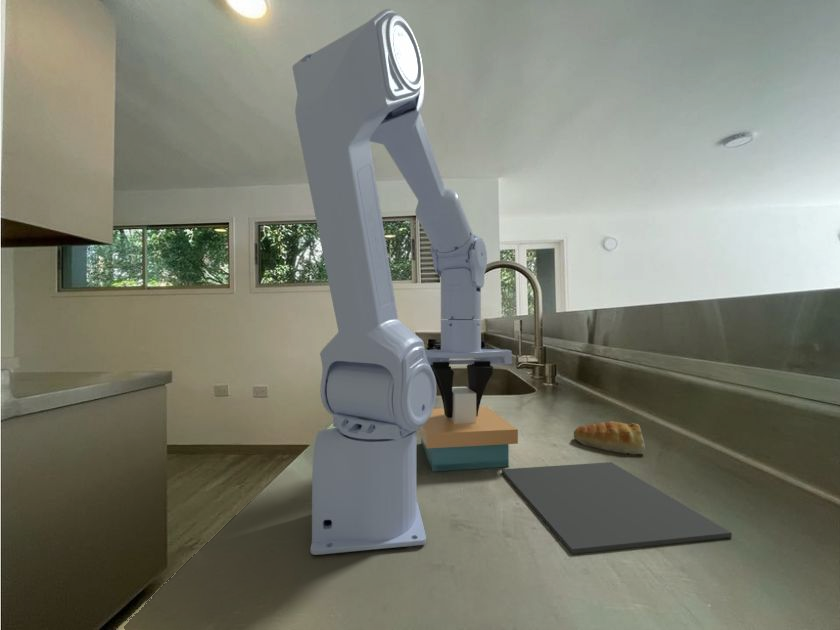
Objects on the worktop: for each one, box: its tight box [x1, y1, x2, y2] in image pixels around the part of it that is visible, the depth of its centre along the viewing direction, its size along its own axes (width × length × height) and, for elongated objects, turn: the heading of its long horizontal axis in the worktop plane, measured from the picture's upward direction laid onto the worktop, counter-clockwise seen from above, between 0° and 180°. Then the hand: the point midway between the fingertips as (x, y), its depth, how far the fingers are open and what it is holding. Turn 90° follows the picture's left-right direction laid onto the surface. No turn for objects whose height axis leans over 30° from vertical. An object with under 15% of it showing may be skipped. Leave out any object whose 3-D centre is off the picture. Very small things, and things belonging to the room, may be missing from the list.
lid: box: [417, 386, 519, 448], centre depth 48 cm, size 12×12×6 cm
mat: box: [501, 461, 733, 555], centre depth 36 cm, size 15×15×1 cm
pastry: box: [573, 420, 646, 455], centre depth 52 cm, size 9×7×4 cm
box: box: [420, 437, 510, 473], centre depth 48 cm, size 10×10×4 cm
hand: (460, 415), depth 48 cm, fingers closed on lid, 3 cm apart
